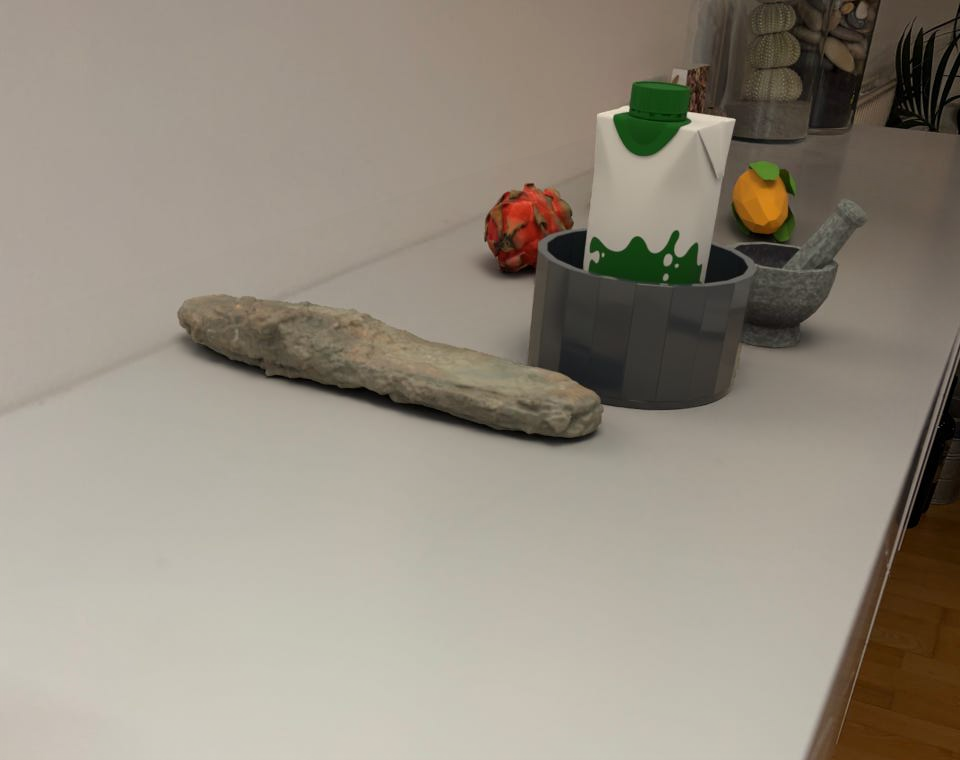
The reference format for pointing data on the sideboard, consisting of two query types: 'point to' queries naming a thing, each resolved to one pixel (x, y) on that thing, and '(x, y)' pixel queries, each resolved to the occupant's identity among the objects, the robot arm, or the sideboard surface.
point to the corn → (764, 200)
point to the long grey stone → (390, 363)
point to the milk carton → (656, 187)
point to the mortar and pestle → (795, 278)
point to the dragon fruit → (524, 225)
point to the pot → (639, 327)
